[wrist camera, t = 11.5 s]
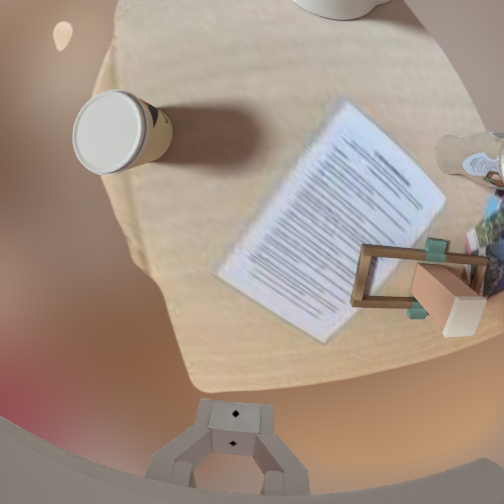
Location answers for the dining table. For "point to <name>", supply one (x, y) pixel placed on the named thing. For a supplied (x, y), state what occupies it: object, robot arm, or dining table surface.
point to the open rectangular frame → (431, 253)
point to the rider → (447, 300)
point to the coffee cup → (119, 133)
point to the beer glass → (473, 157)
